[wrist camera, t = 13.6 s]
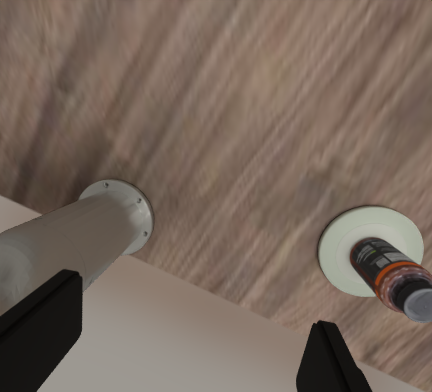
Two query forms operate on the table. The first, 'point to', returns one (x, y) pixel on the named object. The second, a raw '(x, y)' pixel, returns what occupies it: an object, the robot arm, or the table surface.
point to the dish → (358, 230)
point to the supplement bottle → (394, 278)
